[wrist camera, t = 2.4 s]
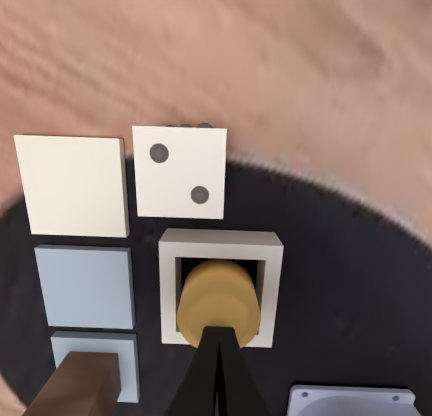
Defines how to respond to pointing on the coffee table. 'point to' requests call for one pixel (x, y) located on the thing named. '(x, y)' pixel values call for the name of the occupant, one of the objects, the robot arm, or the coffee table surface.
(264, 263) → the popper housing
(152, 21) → the coffee table surface
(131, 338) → the tile
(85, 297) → the tile
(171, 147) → the die
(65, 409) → the brown rectangular block
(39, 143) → the tile
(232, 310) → the dome button
